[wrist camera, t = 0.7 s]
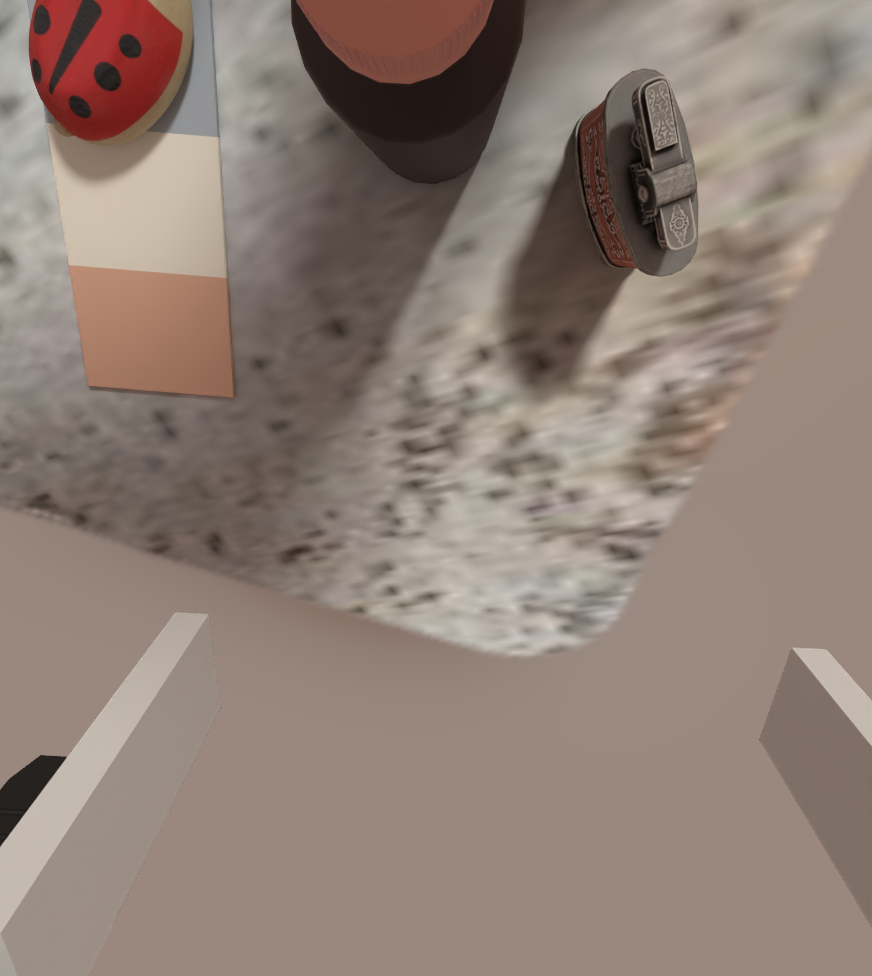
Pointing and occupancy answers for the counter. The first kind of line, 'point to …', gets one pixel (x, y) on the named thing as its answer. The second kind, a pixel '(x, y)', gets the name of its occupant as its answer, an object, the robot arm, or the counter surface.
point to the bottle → (413, 74)
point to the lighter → (638, 177)
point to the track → (152, 241)
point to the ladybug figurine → (109, 63)
